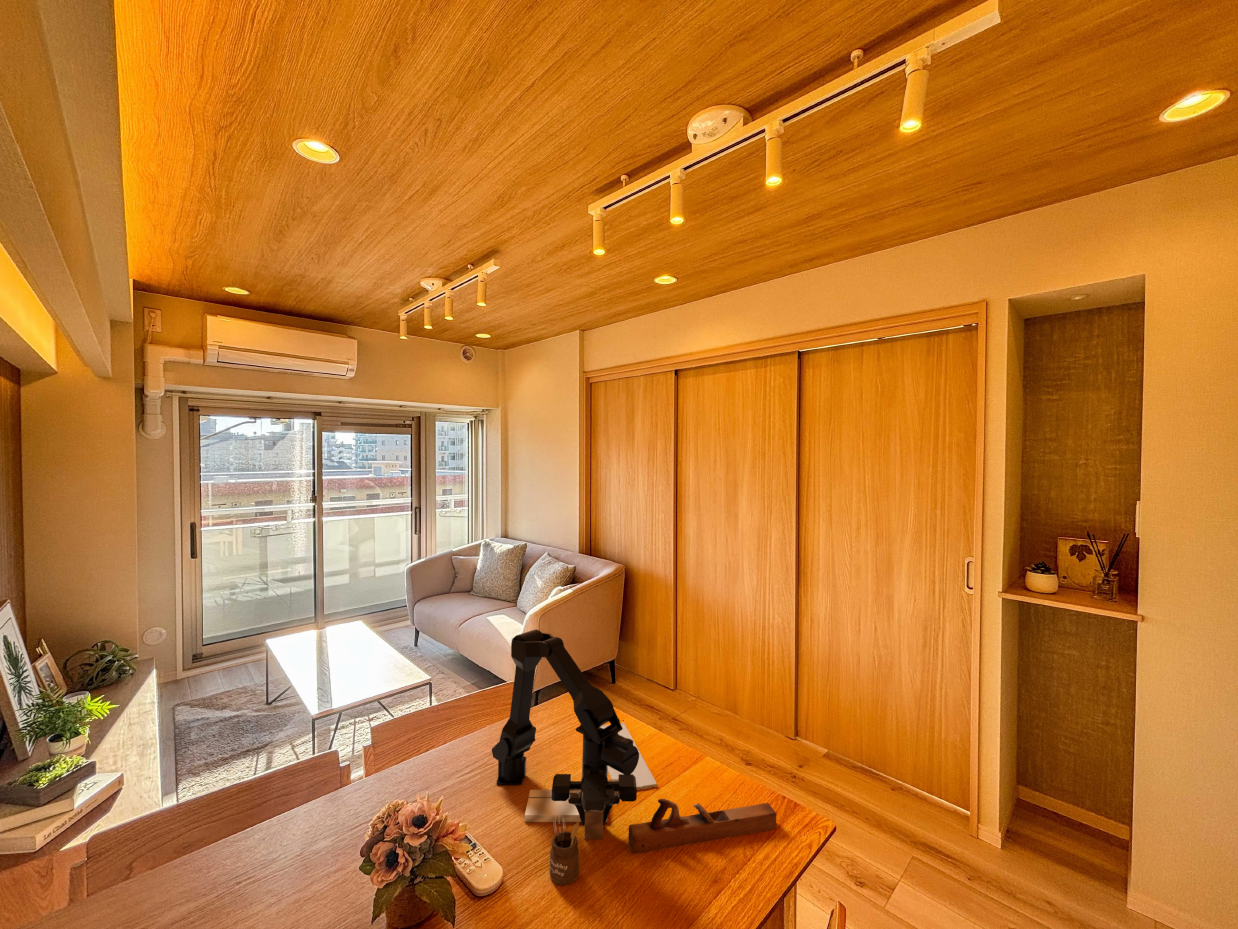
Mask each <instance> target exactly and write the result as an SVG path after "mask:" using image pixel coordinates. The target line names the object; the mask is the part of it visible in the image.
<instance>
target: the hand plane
mask: <svg viewBox="0 0 1238 929" xmlns="http://www.w3.org/2000/svg"><path fill="white" fill-rule="evenodd" d="M657 802H658V803H659V806H658V808H657V809H656V810H655V812H654V814H653V815H652V818H651V821H647V822H641V823H634V824H633V823H632V824H629V825H628V845H629V848H630V850H631V853H632V854H633V855H638V854H643V853H648V852H653V851H654V852H655V851H661V850H664V849H665V850H666V849H671V848H676V847H682V846H688V845H694V844H700V843H705V842H706V843H707V842H711V841H717V840H722V839H729V838H734V837H741V836H745V835H751V834H757V833H762V832H768V831H772V830H776V829H777V812H776V811H775V809H774V808H773V807H772V806H771V804H770V803H769V802H764V803H758V804H754V805H748V806H742V807H735V808H729V809H721V810H715V811H709V812H708V811H707V810H706V809H705V808H704V806H702V805H701V804H700V803H699V802H698V803H696V804H693V805H692V806H693V807H694V808H695V809H696V810H697V811H698V813H696V814H690V815H684V816H681V815H680V810H679V806H678V804H677V803H676V802H674V801H671V800H669V799H666V798H659V799H657ZM669 809H671V811H670V814H669V817H668V818H665V819H663V818H664V817H665V814H666V813H667V811H668V810H669Z"/></svg>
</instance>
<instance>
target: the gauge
mask: <svg viewBox="0 0 1238 929" xmlns="http://www.w3.org/2000/svg"><path fill="white" fill-rule="evenodd" d="M583 828H584V829H583V830H584V833H583V834H584V835H583V836H584V838H583V839H584V840H603V837H604V826H603V810H602V811H598V810H589V811H586V810H585V825H584V826H583Z"/></svg>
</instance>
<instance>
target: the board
mask: <svg viewBox="0 0 1238 929" xmlns="http://www.w3.org/2000/svg"><path fill="white" fill-rule="evenodd" d="M568 799H569V798H568ZM568 799H567V800H566V801H553V800H552V789H530V790H529V794H528V799H527V803H526V808H525V813H524V822H525V823H553V821H554V823H555V821H556V823H563V821H564V823H578V821H579V823H582V822H581V819H580V816H579V813H578V810H577V808H576V806H575V805H574V804H569V802H568ZM558 814H559V820H560V822H559V821H558V816H556V815H558ZM562 816H563V817H564V818H563V817H562ZM555 817H557V818H555ZM608 817H609V816H608ZM608 817H607V820H606V823H608ZM561 818H562V819H561ZM564 819H565V820H564ZM562 820H563V821H562Z"/></svg>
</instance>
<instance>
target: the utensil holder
mask: <svg viewBox="0 0 1238 929" xmlns="http://www.w3.org/2000/svg"><path fill="white" fill-rule="evenodd" d="M556 816H558V821H559V822H558V823H561V822H560V820H559V814H558V815H556ZM562 817H563V816H562ZM555 818H557V817H555ZM563 818H564V817H563ZM561 819H562V818H561ZM564 820H565V819H564ZM562 821H563V820H562ZM552 823H553V824H554V825H556V823H557V822H556V821H555V822H554V821H553V822H552ZM562 824H565V822H564V821H563V822H562ZM562 826H563V831H561V828H559V829H557V827H554V830H553V831H554V832H556V833H555V834H554V836H553V838H552V841H551V848H550V851H549V876H550V879H551V881H553V882H554V883H555V884H556V885H560V886H566V885H569V884H572V883H573V882H574V881H575V880H576V879H578V878H577V877H578V876H579V872H580V871H579V870H580V850H579V846H578V845H579V844H578V843H579V842H578V837H577V834H578V832H579V831H578V830H579V827H580V822H579V821H578V822H575V824H573V826H572V831H567V830H565V829H566V826H565V825H562ZM558 830H559V832H558Z"/></svg>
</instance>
